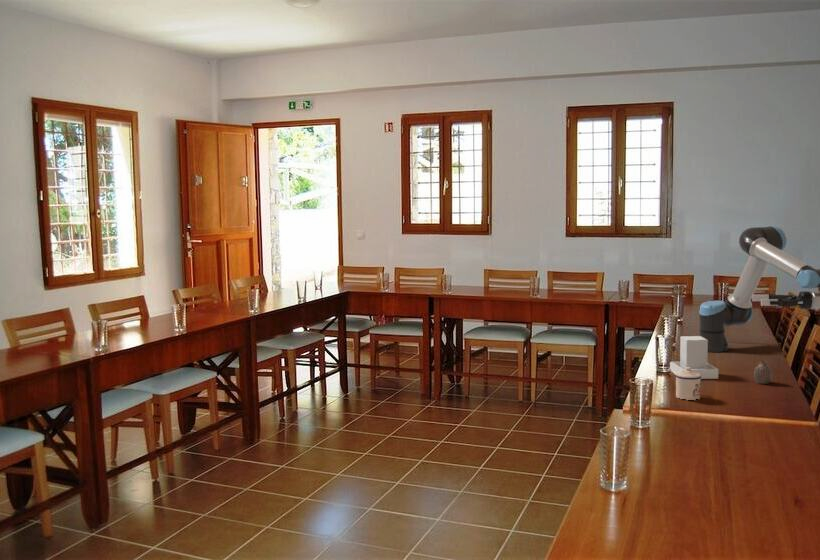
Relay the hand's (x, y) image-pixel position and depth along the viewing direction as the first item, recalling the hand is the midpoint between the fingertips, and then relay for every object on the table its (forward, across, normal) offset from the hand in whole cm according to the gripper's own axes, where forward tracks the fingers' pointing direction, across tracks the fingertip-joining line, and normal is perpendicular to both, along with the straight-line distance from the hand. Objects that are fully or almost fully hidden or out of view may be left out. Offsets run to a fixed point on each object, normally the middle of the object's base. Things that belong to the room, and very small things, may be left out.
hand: (756, 300), depth 319 cm
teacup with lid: (+36, -50, -30) cm, 68 cm away
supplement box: (+28, -13, -29) cm, 42 cm away
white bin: (+28, -14, -30) cm, 43 cm away
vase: (+3, -26, -30) cm, 40 cm away
